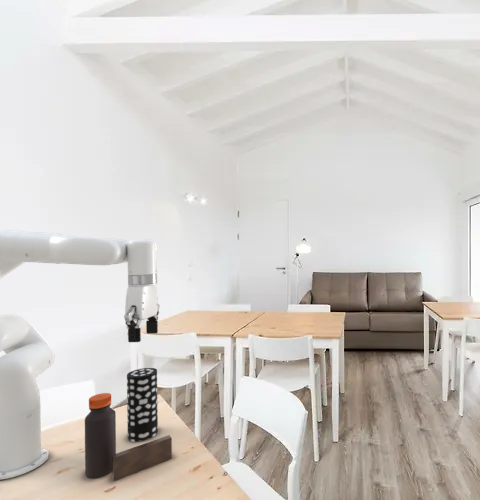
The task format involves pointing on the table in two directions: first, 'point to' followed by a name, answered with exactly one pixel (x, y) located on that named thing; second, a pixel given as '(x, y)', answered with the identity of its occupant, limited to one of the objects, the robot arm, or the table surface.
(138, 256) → the robot arm
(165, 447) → the bar
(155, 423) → the white-spotted black cylinder
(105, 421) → the bottle
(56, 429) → the table surface
